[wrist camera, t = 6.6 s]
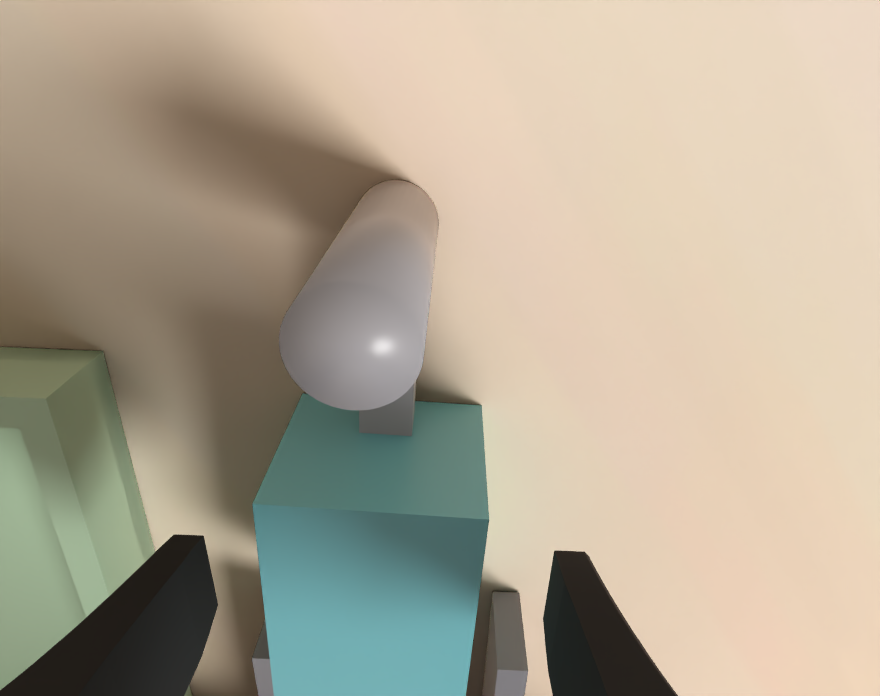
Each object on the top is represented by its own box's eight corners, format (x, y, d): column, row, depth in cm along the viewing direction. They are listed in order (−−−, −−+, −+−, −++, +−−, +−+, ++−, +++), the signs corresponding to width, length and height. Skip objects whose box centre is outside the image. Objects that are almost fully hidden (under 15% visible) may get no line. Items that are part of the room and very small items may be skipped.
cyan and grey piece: (462, 575, 17) (464, 808, 12) (311, 565, 17) (246, 794, 12) (505, 187, 12) (543, 294, 7) (290, 172, 12) (159, 267, 7)
